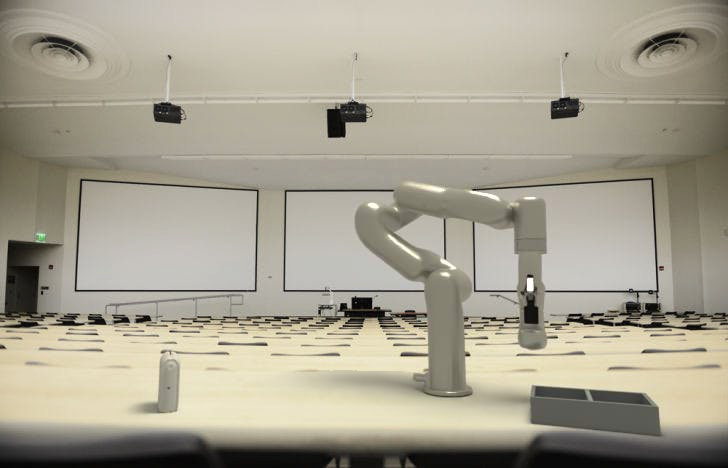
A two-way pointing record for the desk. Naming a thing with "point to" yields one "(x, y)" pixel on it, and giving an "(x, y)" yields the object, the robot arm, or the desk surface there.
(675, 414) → the desk surface
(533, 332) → the plastic bottle
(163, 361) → the grey rounded block
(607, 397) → the grey divided tray
